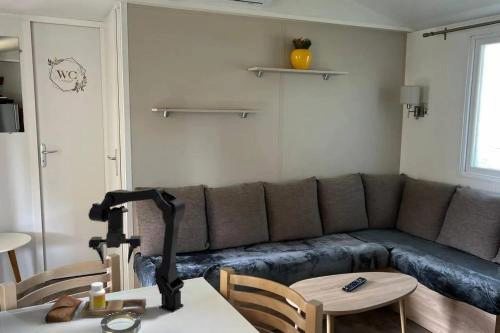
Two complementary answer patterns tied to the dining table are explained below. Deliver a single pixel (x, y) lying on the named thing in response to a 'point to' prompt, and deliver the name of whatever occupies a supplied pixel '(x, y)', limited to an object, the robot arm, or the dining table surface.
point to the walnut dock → (115, 308)
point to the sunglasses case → (63, 309)
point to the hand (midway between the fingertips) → (116, 263)
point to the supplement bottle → (97, 296)
